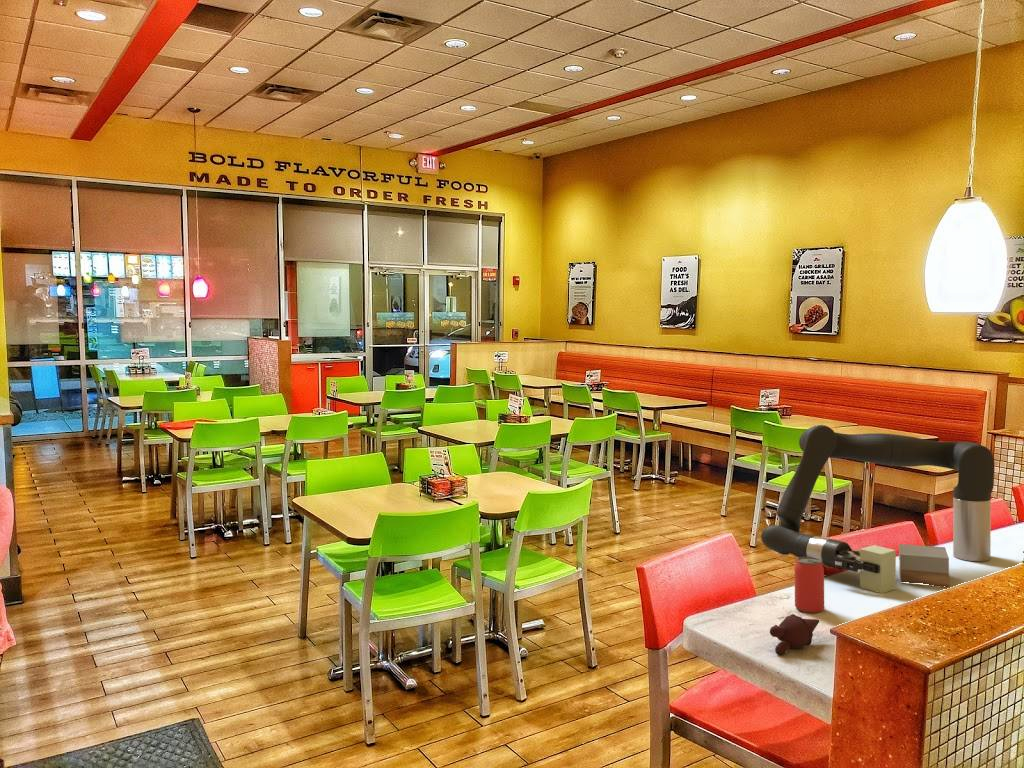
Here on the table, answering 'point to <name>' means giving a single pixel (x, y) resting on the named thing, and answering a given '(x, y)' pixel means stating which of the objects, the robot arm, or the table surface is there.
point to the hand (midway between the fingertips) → (886, 566)
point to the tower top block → (923, 558)
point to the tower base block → (924, 577)
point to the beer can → (809, 585)
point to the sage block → (887, 569)
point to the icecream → (793, 633)
